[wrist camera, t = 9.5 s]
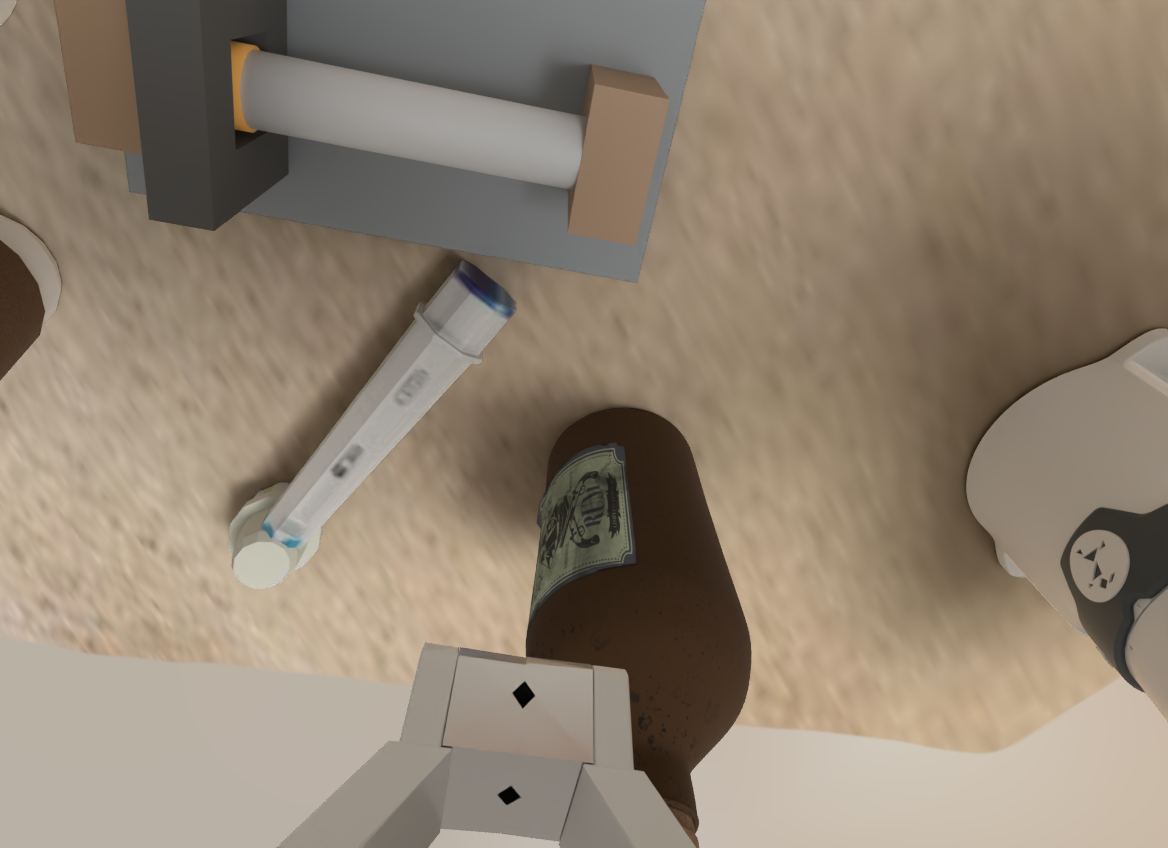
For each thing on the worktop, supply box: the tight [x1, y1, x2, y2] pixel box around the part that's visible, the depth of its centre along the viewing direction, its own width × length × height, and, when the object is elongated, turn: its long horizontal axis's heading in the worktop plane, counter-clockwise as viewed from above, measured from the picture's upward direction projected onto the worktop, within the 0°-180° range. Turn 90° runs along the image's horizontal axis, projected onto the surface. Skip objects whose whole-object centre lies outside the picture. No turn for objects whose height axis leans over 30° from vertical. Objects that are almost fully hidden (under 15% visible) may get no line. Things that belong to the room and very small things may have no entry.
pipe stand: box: [54, 0, 706, 283], centre depth 33 cm, size 26×14×8 cm, turn 79°
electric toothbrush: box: [228, 260, 516, 589], centre depth 45 cm, size 5×7×25 cm
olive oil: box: [526, 408, 751, 848], centre depth 38 cm, size 11×11×25 cm
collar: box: [125, 0, 289, 231], centre depth 31 cm, size 2×9×9 cm, turn 169°
